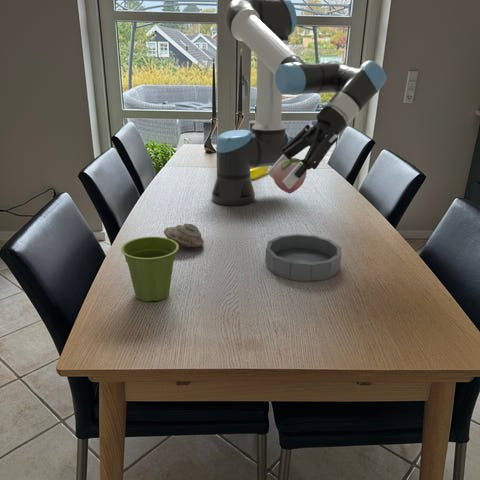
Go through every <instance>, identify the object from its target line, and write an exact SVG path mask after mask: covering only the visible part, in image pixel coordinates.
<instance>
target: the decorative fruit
mask: <svg viewBox="0 0 480 480" xmlns="http://www.w3.org/2000/svg"><path fill="white" fill-rule="evenodd" d="M291 157H292V156H290V160H284V161H281V162H280V163H278V164H277V165H276V167H275V168H274V171H273V178H272V180H273V182H274V184H275V185H276V186H277V187H278V188H279V189H280V190H282V191H283V192H285V193H287V194H289V195H290V194H293V193H294V192H296V191H297V190H298V189H299V188H301V187H302V185H303V184H304V182H305V180H306V178H307V171H306V172H305V173H304V174H303V175H302V176H301V177H300V178H299V180H298V181H297V182H296V183H295V184H294V185H293V186H292V187H291V188H290V189H289V188H288V187H287V186H286V185H285V184H284V183H283V182H282V181H283V180H284V179H285V178H286V177H287V175H288V174H289V173H290V172H291V171H292V170H293V169H294V168H295V167H296V165H297V164H298V163H299V162H301V161H300V160H301V159H300V158H297V157H292V158H291ZM301 163H302V162H301Z"/></svg>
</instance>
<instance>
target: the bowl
mask: <svg viewBox="0 0 480 480" xmlns="http://www.w3.org/2000/svg"><path fill="white" fill-rule="evenodd" d="M264 261H265V264H266V265H265V266H266V268H267V269H268V270H269V272H271V273H272V274H274V275H276V276H277V277H280V278H283V279H285V280H290V281H294V282H302V283H303V282H304V283H305V282H306V283H311V282H321V281H325V280H329V279H331V278H333V277H335V276H336V275H337V274H338V273H339V272H340V269H341V262H342V247H341V246H340V245H338V244H337V243H336V242H334V241H333V240H331V239H329V238H325V237H321V236H318V235H313V234H304V233H303V234H300V233H295V234H287V235H279V236H276V237H275V238H273V239H270V240H269V241H267V245H266V248H265V258H264Z"/></svg>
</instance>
